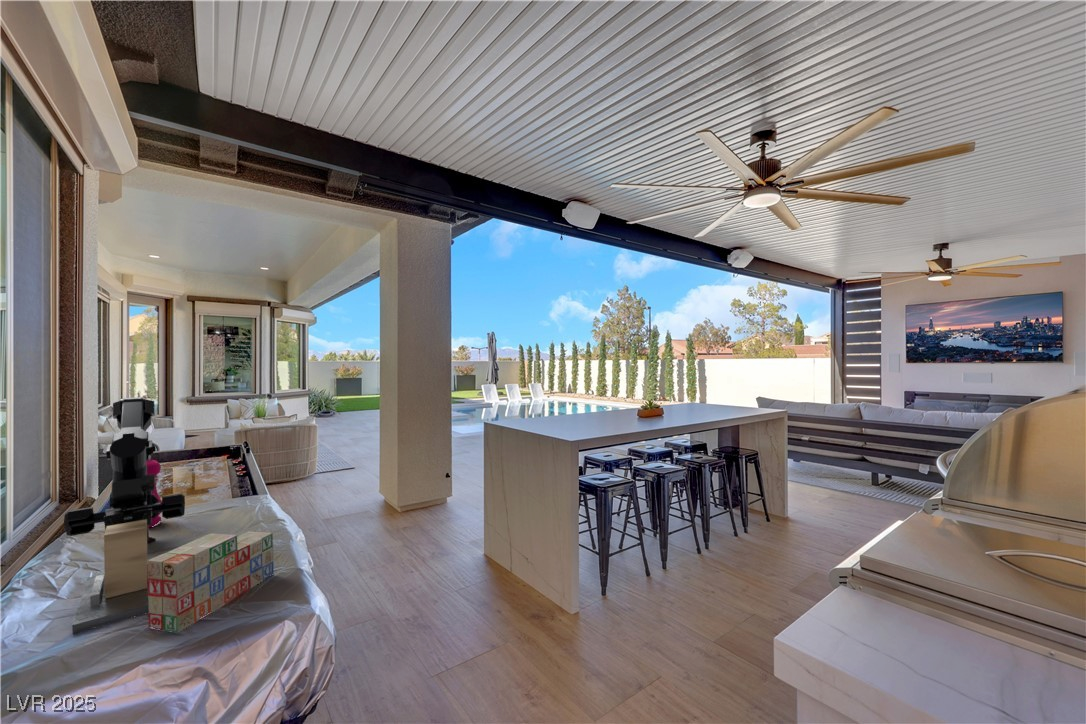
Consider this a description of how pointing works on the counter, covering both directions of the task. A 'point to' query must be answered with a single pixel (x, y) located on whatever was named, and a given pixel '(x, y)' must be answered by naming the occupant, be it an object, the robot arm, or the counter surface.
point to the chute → (107, 605)
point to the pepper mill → (155, 468)
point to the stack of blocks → (205, 576)
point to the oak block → (125, 558)
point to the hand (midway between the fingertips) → (127, 550)
